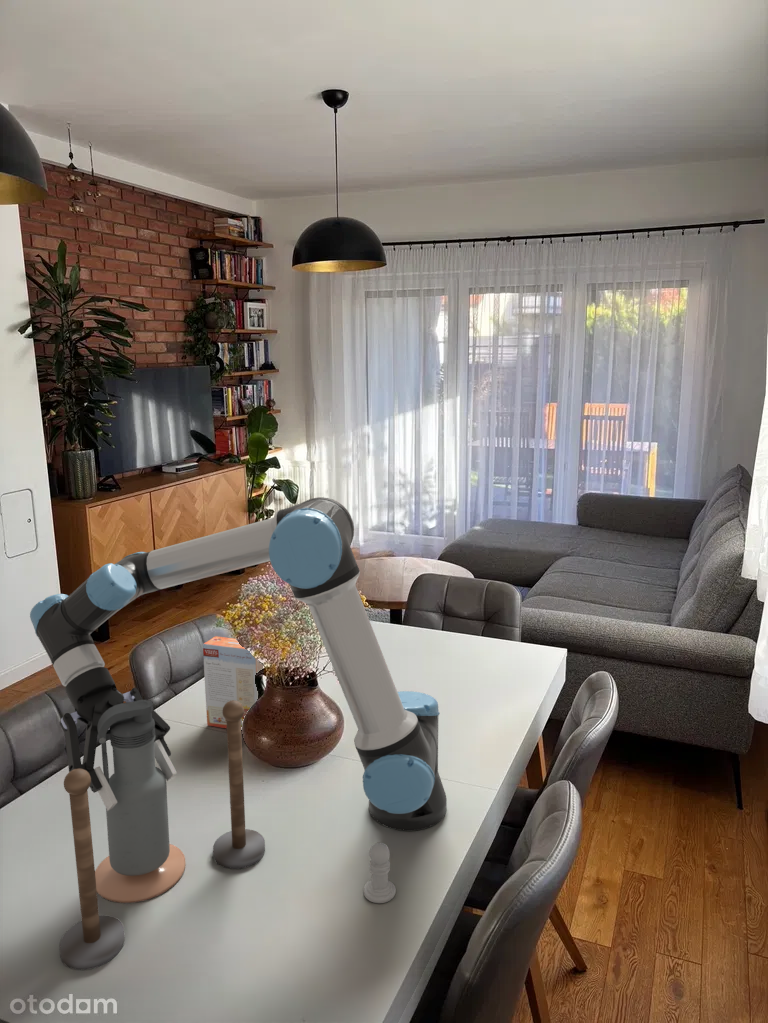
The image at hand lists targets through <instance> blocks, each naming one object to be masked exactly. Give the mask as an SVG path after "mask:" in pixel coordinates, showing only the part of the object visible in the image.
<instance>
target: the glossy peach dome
mask: <svg viewBox="0 0 768 1023" xmlns="http://www.w3.org/2000/svg"><path fill="white" fill-rule="evenodd" d="M169 845H170V852H169V856H168V858H167V860H166V861H165V862H164V863H163V865H161V866H160V867H159V868H157V869H156V870H154V871H152V872H149V873H146V874H143V875H138V876H127V875H122V874H119V873H117V872H116V871H115V870H114V869H113V868H112V867H111V865H110V860H109V855H108V856H106V858H104V859H103V860H102V861H101V862H100V863H99V864H98V866H97V867H96V868H95V878H96V889H97V895H99V897H101V898H103V899H104V900H107V901H108V902H109V901H110V902H112V903H119V904H132V903H133V904H134V903H139V902H144V901H148V900H150V899H153V898H157V897H158V896H161V895H162V894H164V893H166V892H167V891H169V890H170V889H172V888H173V887H174V886H175V885H176V884H177V883H178V882H179V881H180V879H181V878H182V877H183V876H184V873H185V871H186V865H187V864H186V856H185V855H184V853H183V851H182V850H181V849H180V848H179V847H178V846H175V845H174V844H171V843H169Z"/></svg>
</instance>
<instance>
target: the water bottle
mask: <svg viewBox="0 0 768 1023" xmlns="http://www.w3.org/2000/svg"><path fill="white" fill-rule="evenodd" d="M153 710H154V703H153V701H152V700H150V699H143V700H139V701H134V702H123V703H122V704H118V705H115V706H113V707H111V708H109V709H108V710H106V711H105V712H104V713H103V715H102V716H101V718H100V719H99V722H98V725H97V730H98V735H97V739H98V742H99V744H100V745H101V758H102V772H103V774H104V776H105V778H106V780H107V782H108V784H109V786H110V788H111V790H112V792H113V794H114V796H115V798H116V800H117V804H116V805H115V806H114V807H113V808H112V809H110V810H108V811H107V809H106V808H105V814H106V827H107V842H108V856H109V860H110V865H111V867H112V868H113V869H114V870H115V871H116V872H117V873H119V874H122V875H127V876H138V875H143V874H146V873H149V872H152V871H154V870H156V869H157V868H159V867H160V866H161V865H163V863H164V862H165V861H166V860H167V858H168V856H169V852H170V845H169V844H170V830H169V829H170V828H169V811H168V810H169V808H168V793H167V780H166V777H165V775H164V773H163V772H162V770H161V768H160V767H157V765H156V759H155V751H154V740H155V721H154V719H153V718H152V713H151V712H152V711H153ZM107 741H109V742H110V746H111V747H112V760H113V774H112V775H109V774H110V771H109V770H110V769H109V762H108V761H109V759H108V750H107Z"/></svg>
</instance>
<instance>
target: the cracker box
mask: <svg viewBox="0 0 768 1023" xmlns="http://www.w3.org/2000/svg"><path fill="white" fill-rule="evenodd" d="M236 639H237V638H231V637H224V636H218V635H216V636H213V637H212V638H210V639H209V640H207V641H205V642H204V643H202V652H203V670H204V671H203V672H204V673H203V674H204V675H203V676H204V694H205V705H206V706H205V709H206V724H207V726H209V727H216V728H222V729H227V721H226V719H225V718H224V716H223V713H222V711H223V707H224V705H225V704H226V703H227V702H229V701H232V700H236V701H239V702H240V703H241V704H242V705H243V708H244V714H243V716H242V718H241V727H242V721H243V719H244V716H245V715H246V713H247V711H248V710H249V709H250V707H251V706H252V705H253V704H254V703H255V702H256V701H257V699H258V691H257V687H256V684H255V675H256V673H258V672H259V671H260V670H262V669H263V665H262V664H260V663H259V662H258V661H257V660H256V659H255V658H254V657H253V656H252V655H251V653H250V651H248V650H246V649H245V648H244V647H242V646H241V645H240V644H239V642H238V641H237V640H236Z"/></svg>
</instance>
